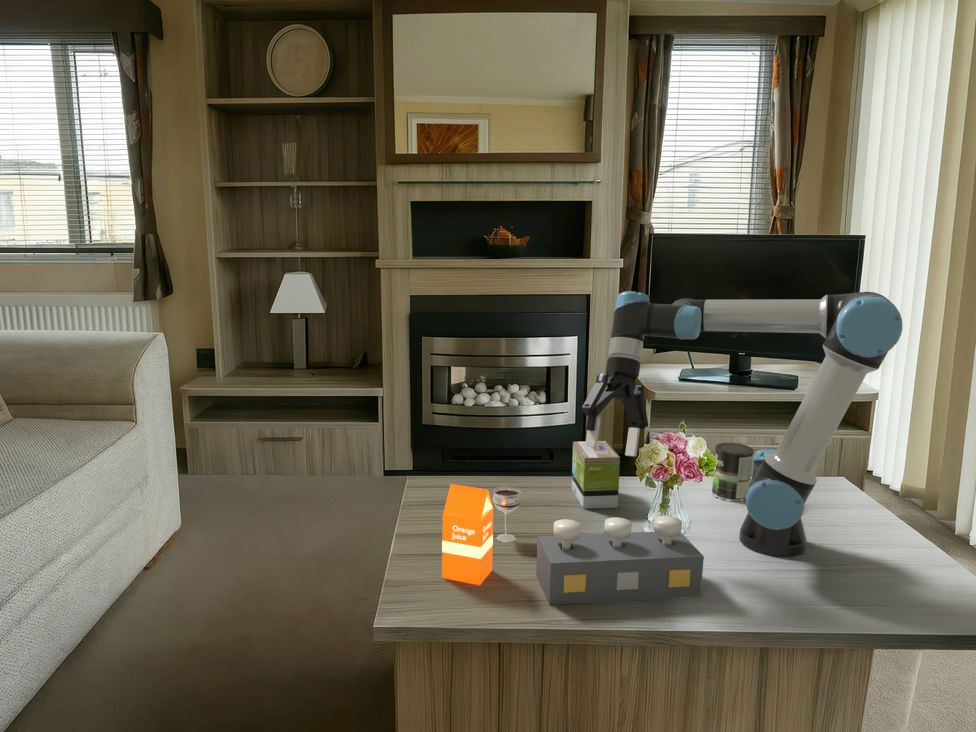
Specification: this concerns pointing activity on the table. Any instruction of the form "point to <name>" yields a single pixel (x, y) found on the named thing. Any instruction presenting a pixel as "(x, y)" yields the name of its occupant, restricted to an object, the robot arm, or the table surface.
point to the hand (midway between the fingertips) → (611, 451)
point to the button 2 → (667, 528)
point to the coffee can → (732, 471)
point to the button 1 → (567, 531)
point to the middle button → (617, 529)
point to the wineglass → (506, 506)
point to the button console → (618, 569)
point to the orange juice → (467, 535)
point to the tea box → (595, 475)
